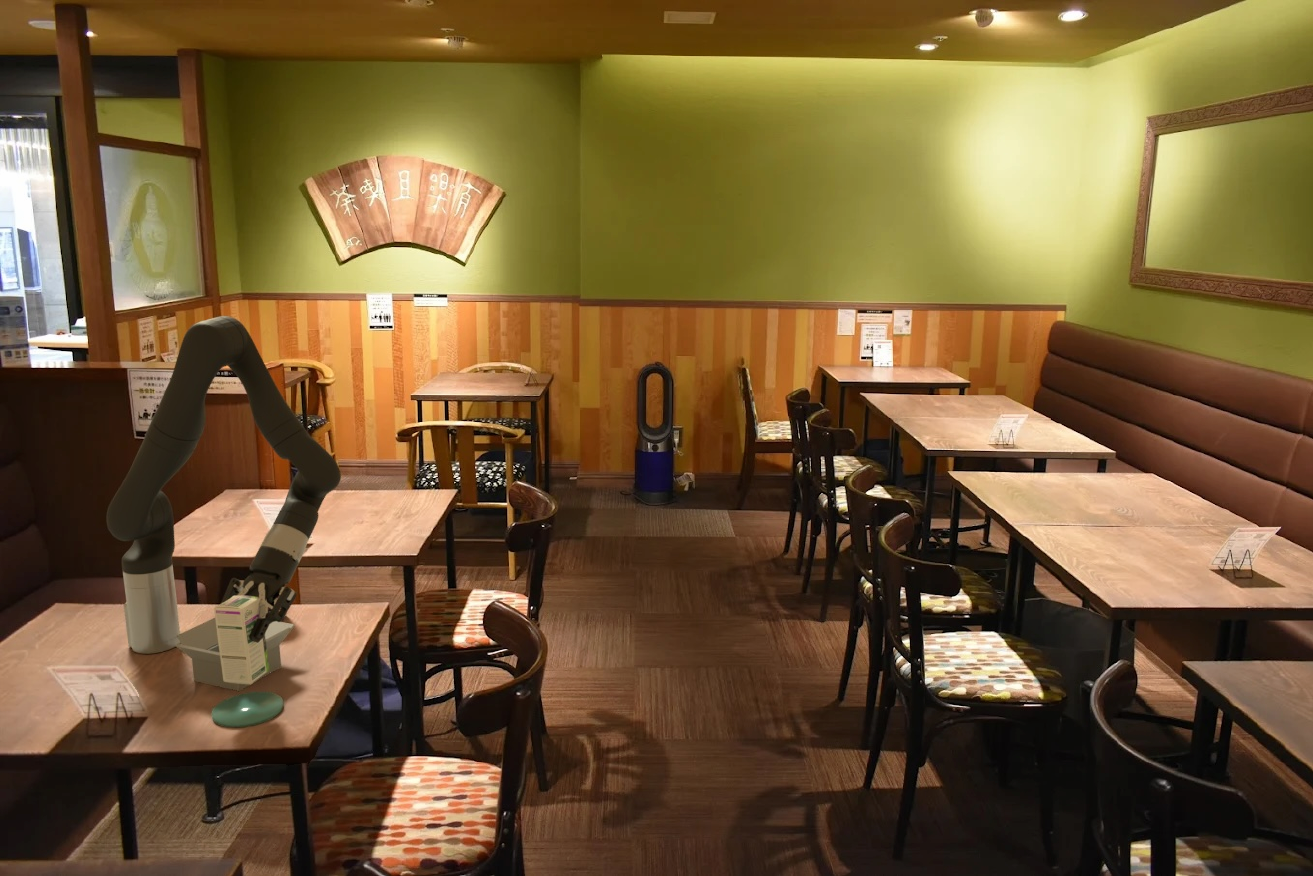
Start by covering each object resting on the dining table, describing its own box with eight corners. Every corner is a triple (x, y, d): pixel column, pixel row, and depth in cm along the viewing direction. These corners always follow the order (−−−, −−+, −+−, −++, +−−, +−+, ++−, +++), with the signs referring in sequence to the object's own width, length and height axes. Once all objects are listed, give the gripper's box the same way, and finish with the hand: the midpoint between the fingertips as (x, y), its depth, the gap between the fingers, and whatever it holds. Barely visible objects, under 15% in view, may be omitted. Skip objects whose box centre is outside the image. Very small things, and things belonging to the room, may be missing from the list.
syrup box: (251, 685, 179) (243, 608, 176) (221, 682, 180) (213, 606, 177) (269, 671, 185) (262, 596, 181) (240, 668, 186) (232, 594, 183)
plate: (196, 719, 181) (196, 715, 180) (247, 691, 191) (246, 687, 191) (249, 732, 176) (248, 728, 176) (297, 702, 187) (297, 698, 187)
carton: (166, 685, 194) (161, 641, 192) (242, 646, 211) (238, 605, 209) (239, 702, 187) (234, 657, 185) (311, 660, 204) (307, 618, 202)
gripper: (237, 540, 188) (194, 623, 180) (299, 549, 182) (257, 635, 174) (261, 558, 194) (220, 640, 186) (321, 567, 188) (282, 652, 180)
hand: (238, 637), depth 180 cm, fingers closed on syrup box, 6 cm apart
